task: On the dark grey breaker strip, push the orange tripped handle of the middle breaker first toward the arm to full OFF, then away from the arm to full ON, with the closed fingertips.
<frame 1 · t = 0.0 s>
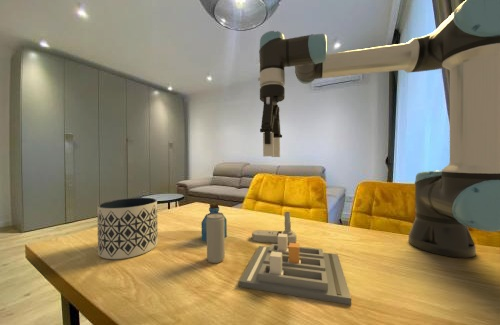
hand: (272, 156, 64), 28 cm above the table, fingers open, 13 cm apart
breaker far: (282, 244, 58), point 4 cm above the table, slide at 3.5 cm
perfume bottle: (214, 239, 73), on the table
electronic device: (273, 241, 71), on the table
panel: (294, 270, 51), on the table
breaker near: (276, 265, 46), point 4 cm above the table, slide at 3.5 cm
planter: (129, 249, 65), on the table
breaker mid: (294, 255, 51), point 4 cm above the table, slide at 0.0 cm
beverage can: (215, 260, 57), on the table
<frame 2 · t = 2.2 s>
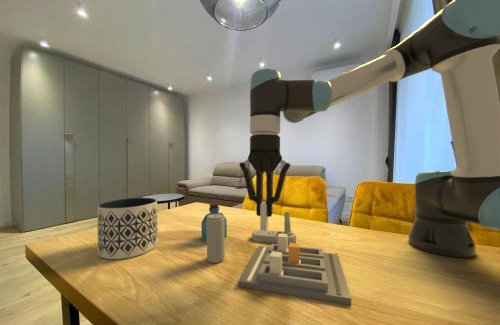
hand: (264, 228, 53), 10 cm above the table, fingers closed
nothing on the table moved.
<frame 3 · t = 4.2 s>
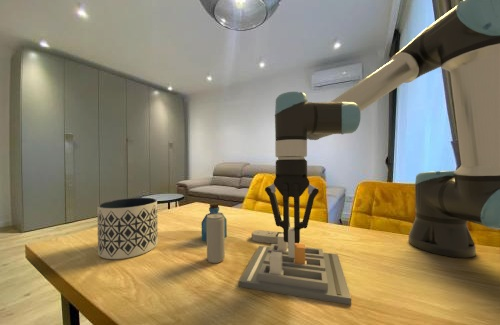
hand: (291, 255, 51), 4 cm above the table, fingers closed
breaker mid: (300, 255, 51), point 4 cm above the table, slide at -1.4 cm, touching gripper
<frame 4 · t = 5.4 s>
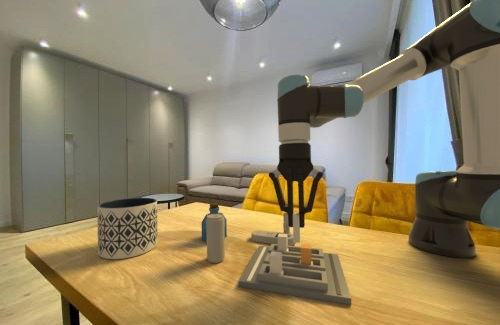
hand: (296, 240, 51), 7 cm above the table, fingers closed
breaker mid: (306, 256, 50), point 4 cm above the table, slide at -2.8 cm
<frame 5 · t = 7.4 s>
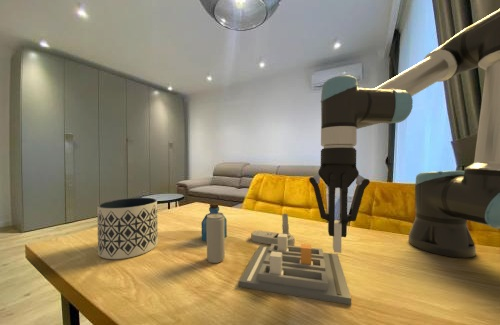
hand: (336, 250, 48), 6 cm above the table, fingers closed
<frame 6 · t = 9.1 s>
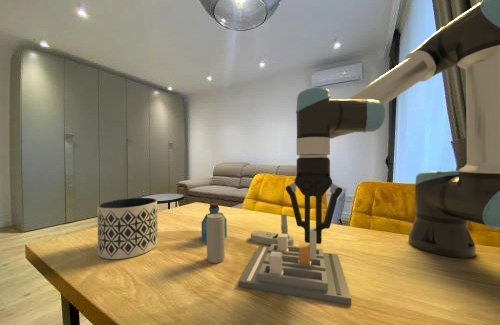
hand: (312, 256, 50), 4 cm above the table, fingers closed
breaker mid: (304, 256, 50), point 4 cm above the table, slide at -2.4 cm, touching gripper
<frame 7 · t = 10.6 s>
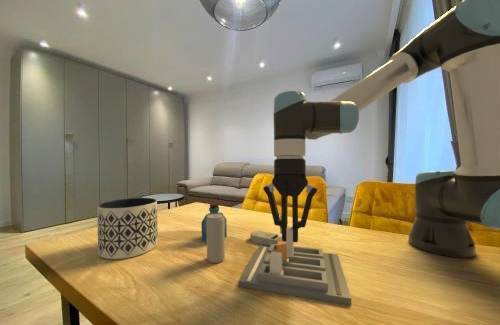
hand: (290, 254, 51), 4 cm above the table, fingers closed
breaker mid: (282, 253, 52), point 4 cm above the table, slide at 2.9 cm, touching gripper
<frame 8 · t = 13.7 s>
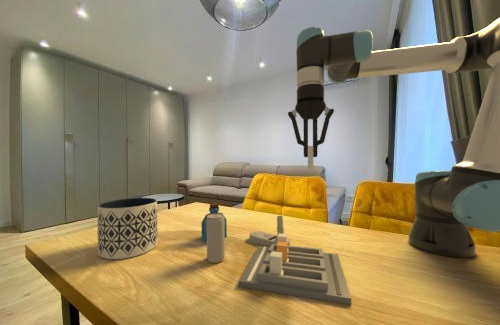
hand: (310, 168, 61), 24 cm above the table, fingers closed
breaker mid: (282, 253, 52), point 4 cm above the table, slide at 2.9 cm
at the end: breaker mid slide at 2.9 cm; breaker far slide at 3.5 cm; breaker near slide at 3.5 cm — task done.
